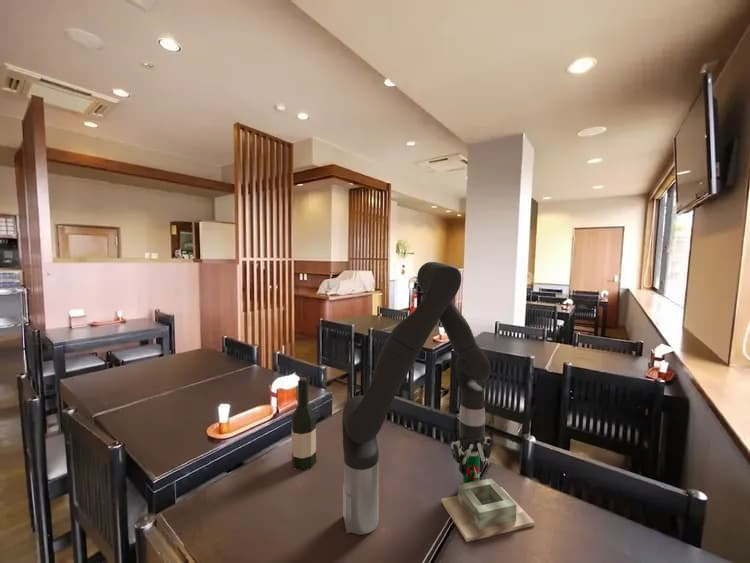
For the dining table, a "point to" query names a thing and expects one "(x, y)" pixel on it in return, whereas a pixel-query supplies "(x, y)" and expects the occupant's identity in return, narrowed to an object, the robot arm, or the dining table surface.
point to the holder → (485, 510)
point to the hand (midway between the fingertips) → (471, 472)
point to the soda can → (472, 467)
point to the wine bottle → (303, 430)
